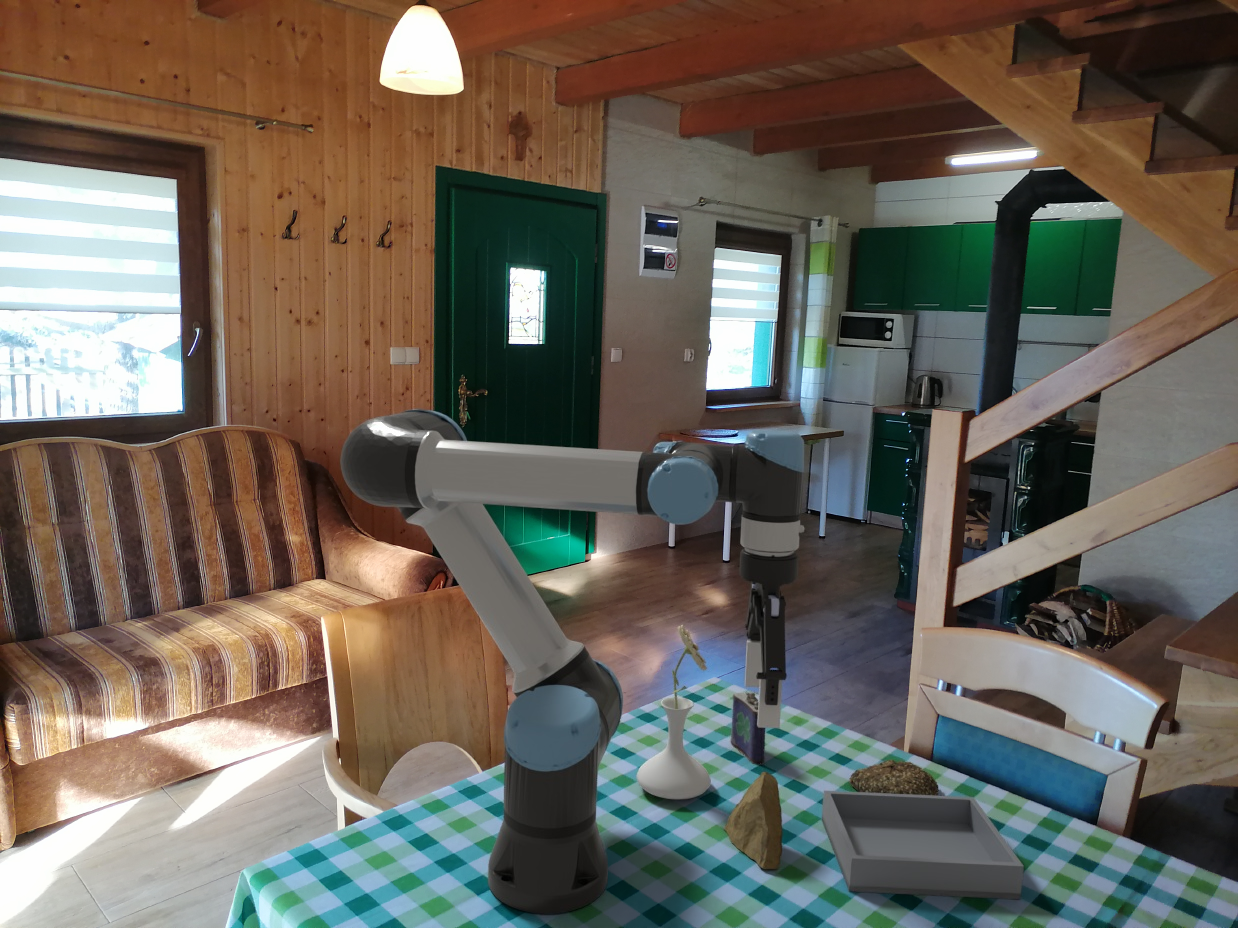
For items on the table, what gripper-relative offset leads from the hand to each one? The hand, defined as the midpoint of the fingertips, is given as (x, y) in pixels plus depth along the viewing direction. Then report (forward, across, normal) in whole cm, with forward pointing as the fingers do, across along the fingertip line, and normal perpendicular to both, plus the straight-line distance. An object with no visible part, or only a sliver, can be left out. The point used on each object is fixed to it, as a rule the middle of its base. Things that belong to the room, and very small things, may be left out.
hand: (761, 705), depth 124 cm
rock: (+21, 0, 0) cm, 21 cm away
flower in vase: (+21, +17, +10) cm, 29 cm away
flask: (+21, +30, -3) cm, 37 cm away
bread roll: (+21, +19, -25) cm, 38 cm away
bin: (+21, 0, -22) cm, 30 cm away
